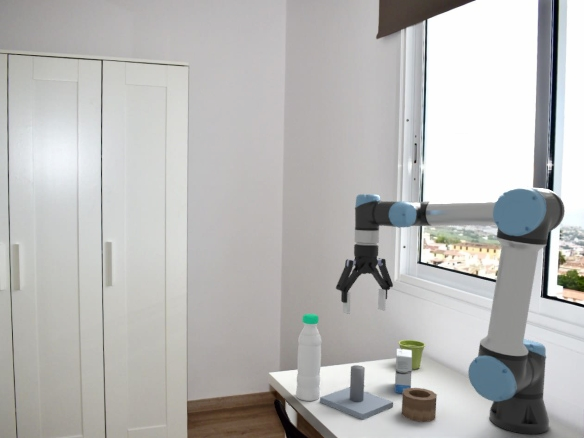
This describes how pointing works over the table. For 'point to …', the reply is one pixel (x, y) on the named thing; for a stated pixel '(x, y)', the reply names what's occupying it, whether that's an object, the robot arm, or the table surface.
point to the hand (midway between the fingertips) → (364, 311)
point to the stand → (356, 397)
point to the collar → (419, 404)
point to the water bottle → (309, 360)
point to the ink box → (403, 370)
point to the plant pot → (413, 351)
